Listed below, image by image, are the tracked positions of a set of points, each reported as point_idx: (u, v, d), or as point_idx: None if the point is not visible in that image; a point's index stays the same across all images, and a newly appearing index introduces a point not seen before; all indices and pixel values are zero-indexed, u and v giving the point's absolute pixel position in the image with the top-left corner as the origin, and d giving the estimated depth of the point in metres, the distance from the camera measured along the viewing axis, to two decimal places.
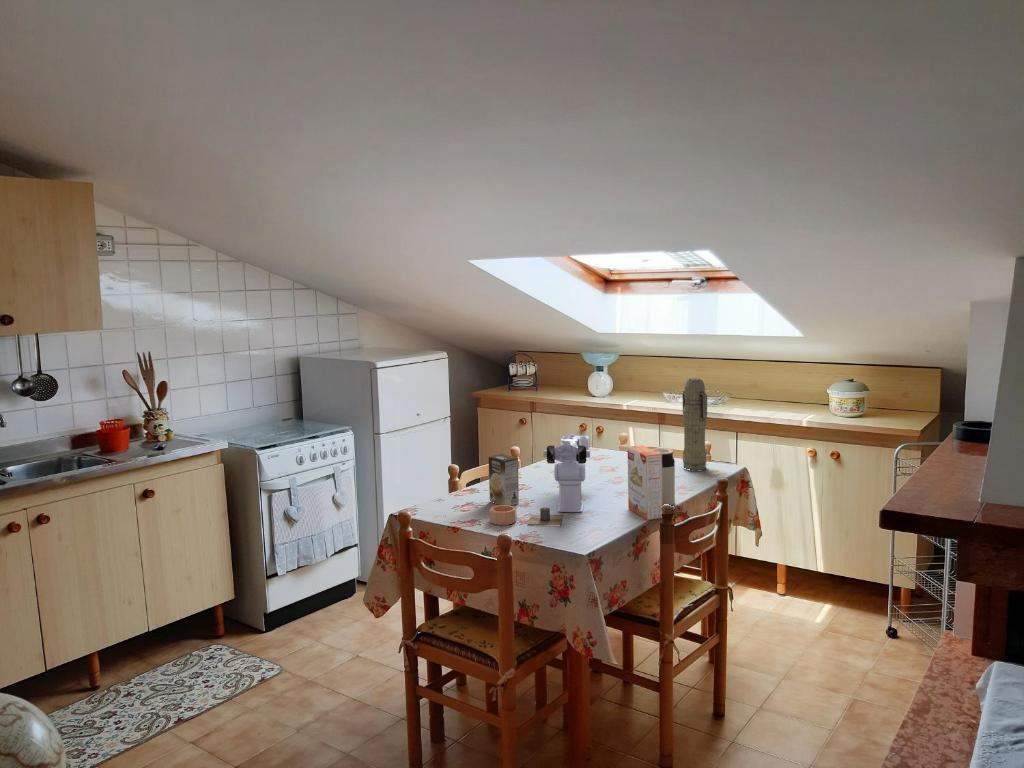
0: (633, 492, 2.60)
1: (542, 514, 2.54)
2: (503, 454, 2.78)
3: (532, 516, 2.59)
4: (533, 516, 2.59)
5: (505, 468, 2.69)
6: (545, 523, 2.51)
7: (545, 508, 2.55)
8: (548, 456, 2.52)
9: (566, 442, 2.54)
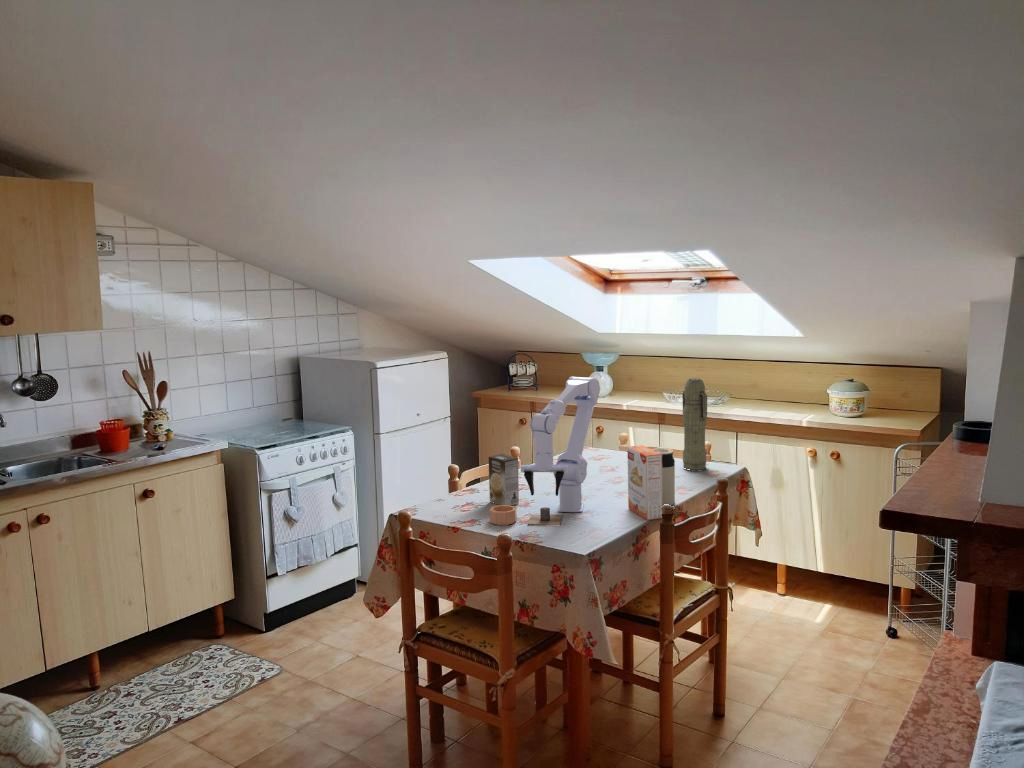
0: (633, 492, 2.60)
1: (542, 514, 2.54)
2: (503, 454, 2.78)
3: (532, 516, 2.59)
4: (533, 516, 2.59)
5: (505, 468, 2.69)
6: (545, 523, 2.51)
7: (545, 508, 2.55)
8: None
9: None
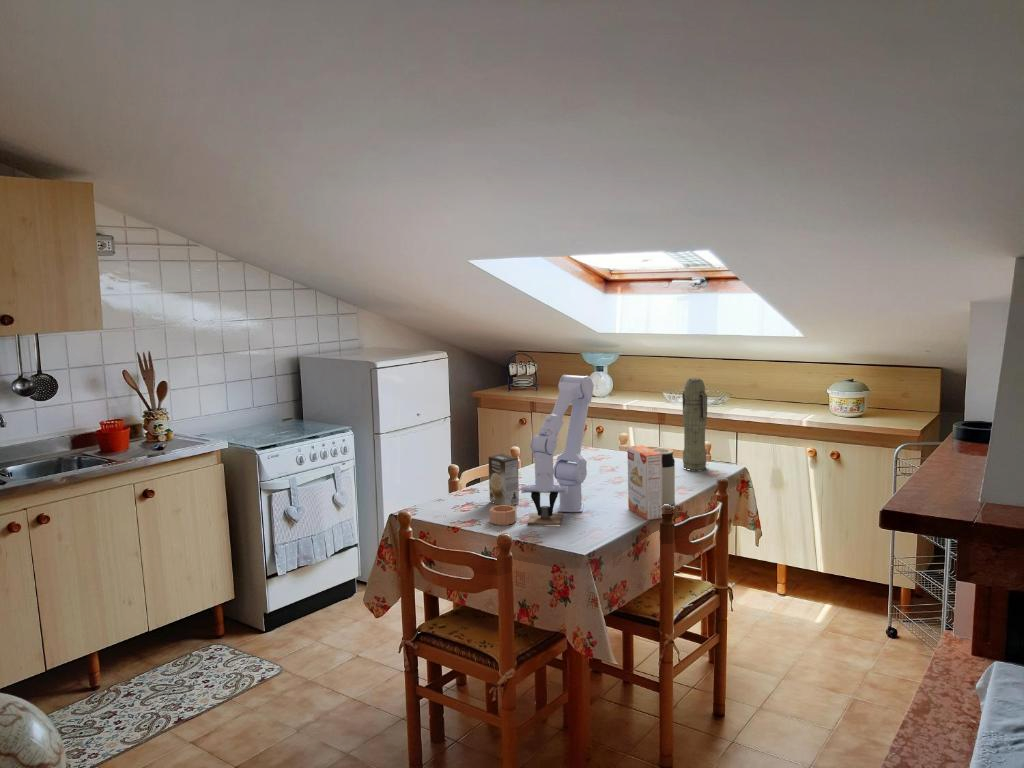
0: (633, 492, 2.60)
1: (542, 513, 2.54)
2: (503, 454, 2.78)
3: (532, 515, 2.59)
4: (533, 515, 2.59)
5: (505, 468, 2.69)
6: (545, 521, 2.51)
7: (545, 507, 2.55)
8: None
9: None
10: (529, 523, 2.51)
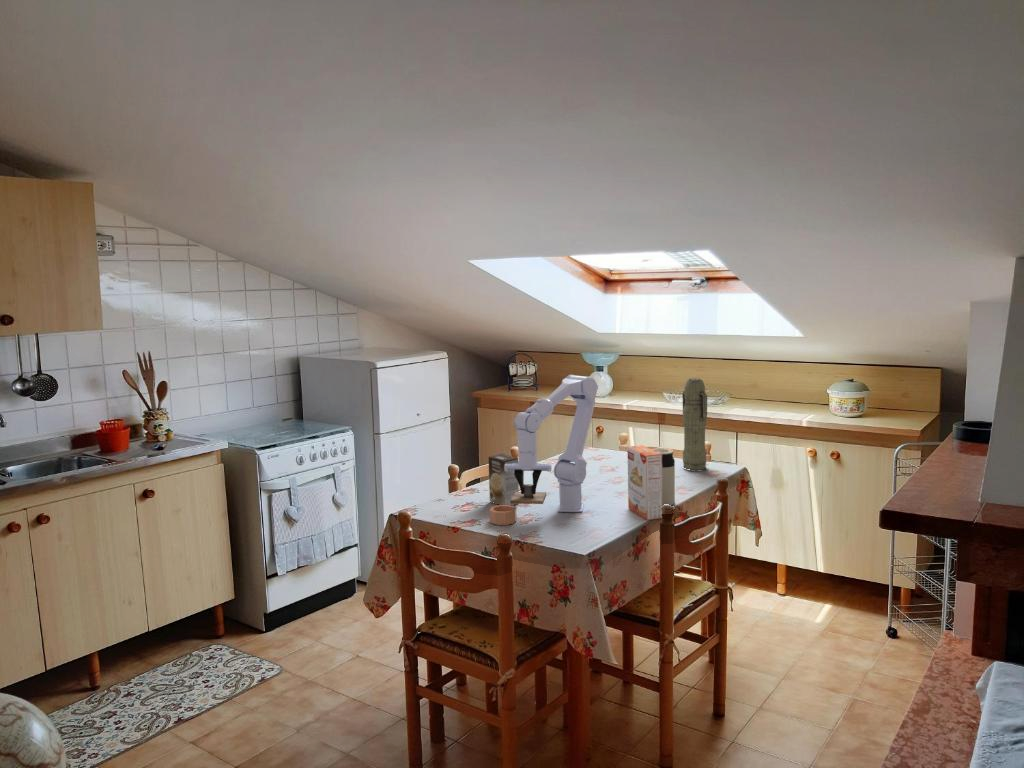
0: (633, 492, 2.60)
1: (525, 491, 2.52)
2: (503, 454, 2.78)
3: (515, 493, 2.57)
4: (516, 493, 2.57)
5: None
6: (528, 499, 2.50)
7: (528, 485, 2.54)
8: None
9: None
10: (512, 501, 2.50)
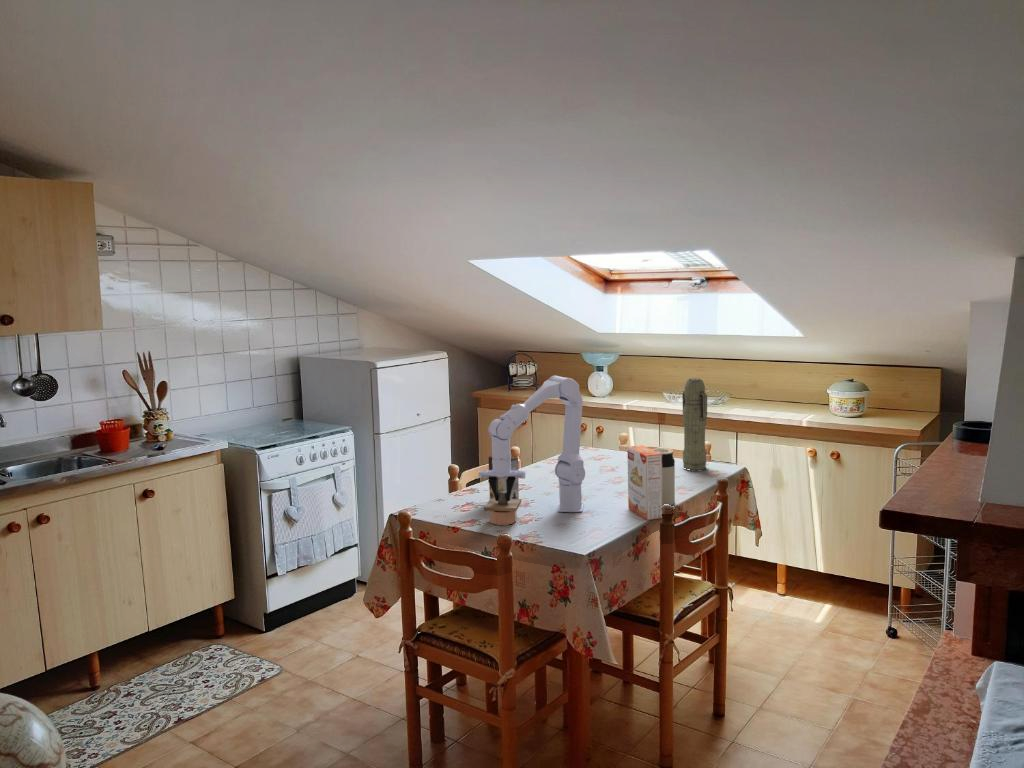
0: (633, 492, 2.60)
1: (500, 498, 2.53)
2: None
3: (490, 500, 2.58)
4: (491, 500, 2.58)
5: None
6: (502, 506, 2.50)
7: (503, 492, 2.54)
8: None
9: None
10: (486, 508, 2.50)
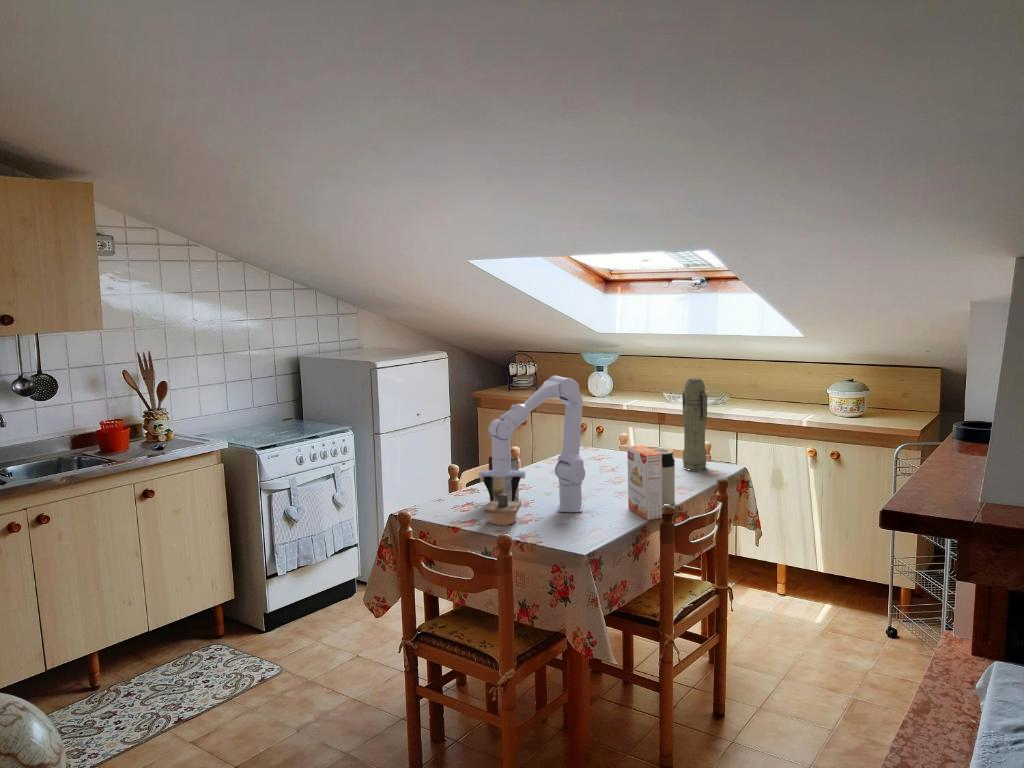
0: (633, 492, 2.60)
1: (500, 500, 2.53)
2: None
3: (490, 502, 2.58)
4: (491, 502, 2.58)
5: None
6: (502, 509, 2.50)
7: (503, 494, 2.54)
8: None
9: None
10: (486, 510, 2.50)
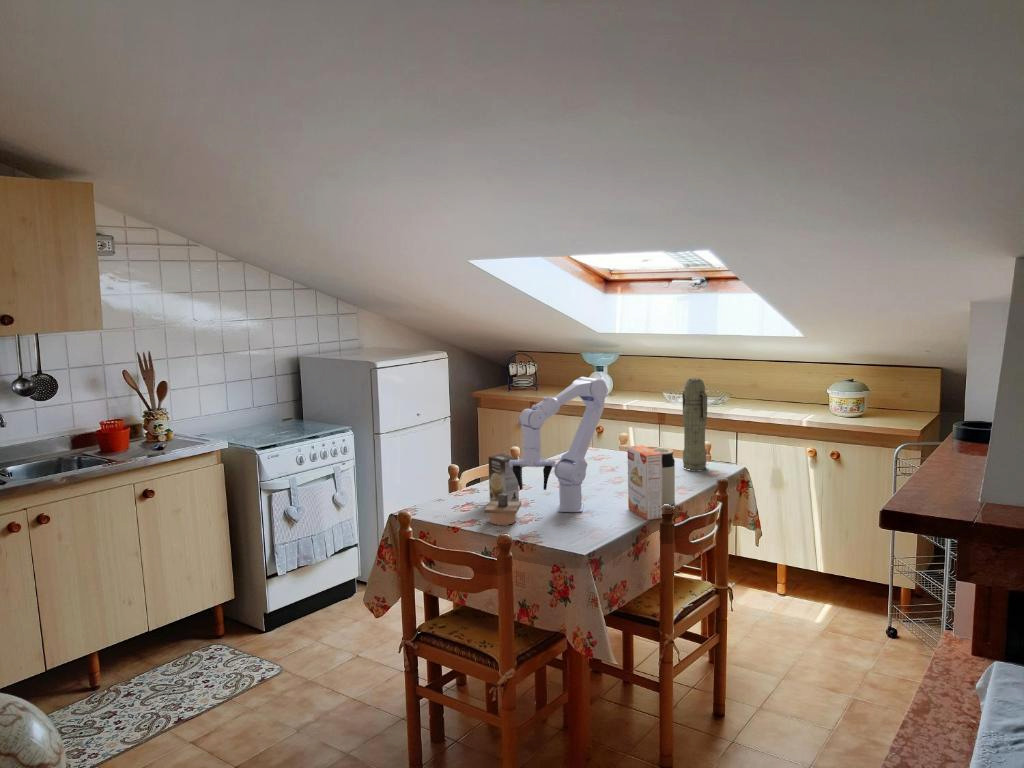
0: (633, 492, 2.60)
1: (500, 500, 2.53)
2: (503, 454, 2.78)
3: (490, 502, 2.58)
4: (491, 502, 2.58)
5: (505, 468, 2.69)
6: (502, 509, 2.50)
7: (503, 494, 2.54)
8: None
9: None
10: (486, 510, 2.50)
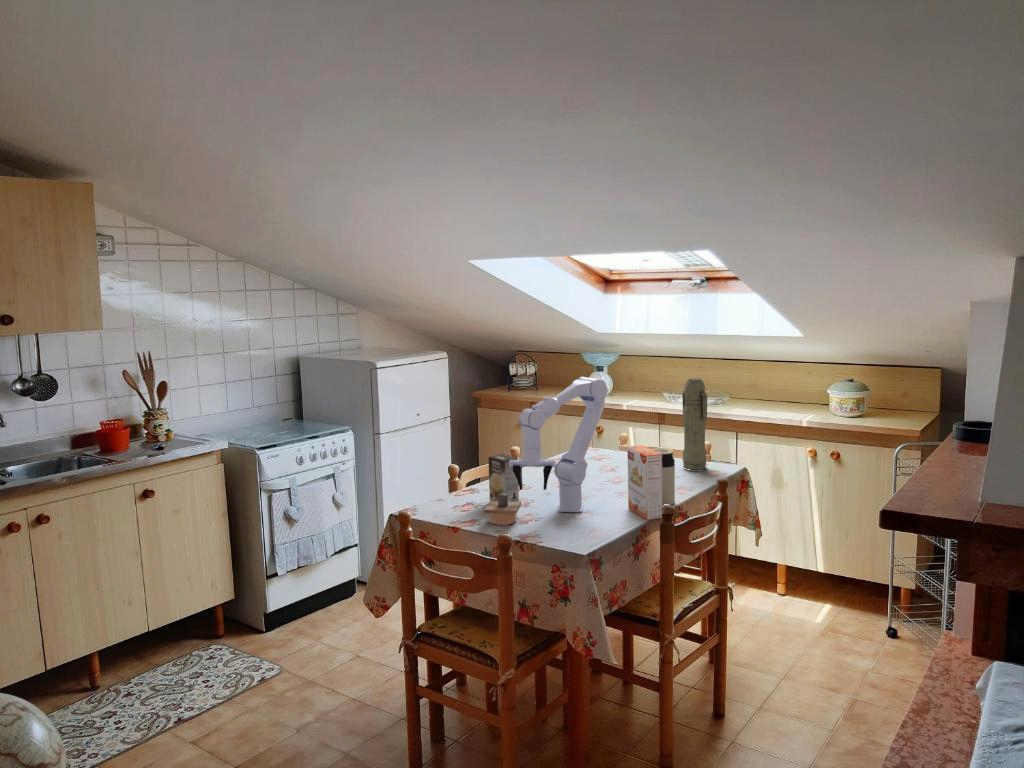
0: (633, 492, 2.60)
1: (500, 500, 2.53)
2: (503, 454, 2.78)
3: (490, 502, 2.58)
4: (491, 502, 2.58)
5: (505, 468, 2.69)
6: (502, 509, 2.50)
7: (503, 494, 2.54)
8: None
9: None
10: (486, 510, 2.50)
